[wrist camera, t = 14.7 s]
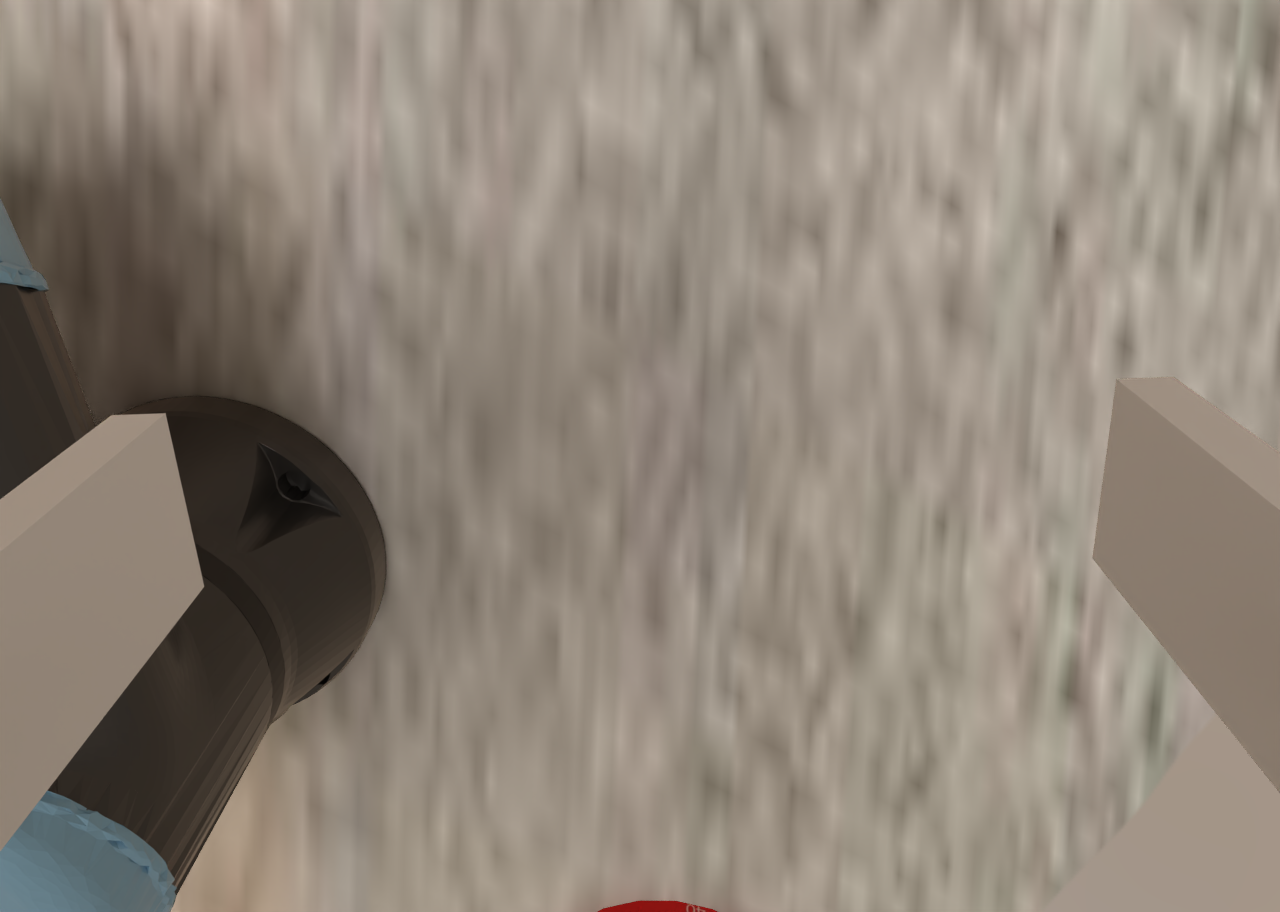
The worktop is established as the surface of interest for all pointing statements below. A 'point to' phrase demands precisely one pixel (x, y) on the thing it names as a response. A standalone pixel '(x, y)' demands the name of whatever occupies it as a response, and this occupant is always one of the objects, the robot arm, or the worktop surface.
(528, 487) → the worktop surface
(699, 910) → the kitchen timer
